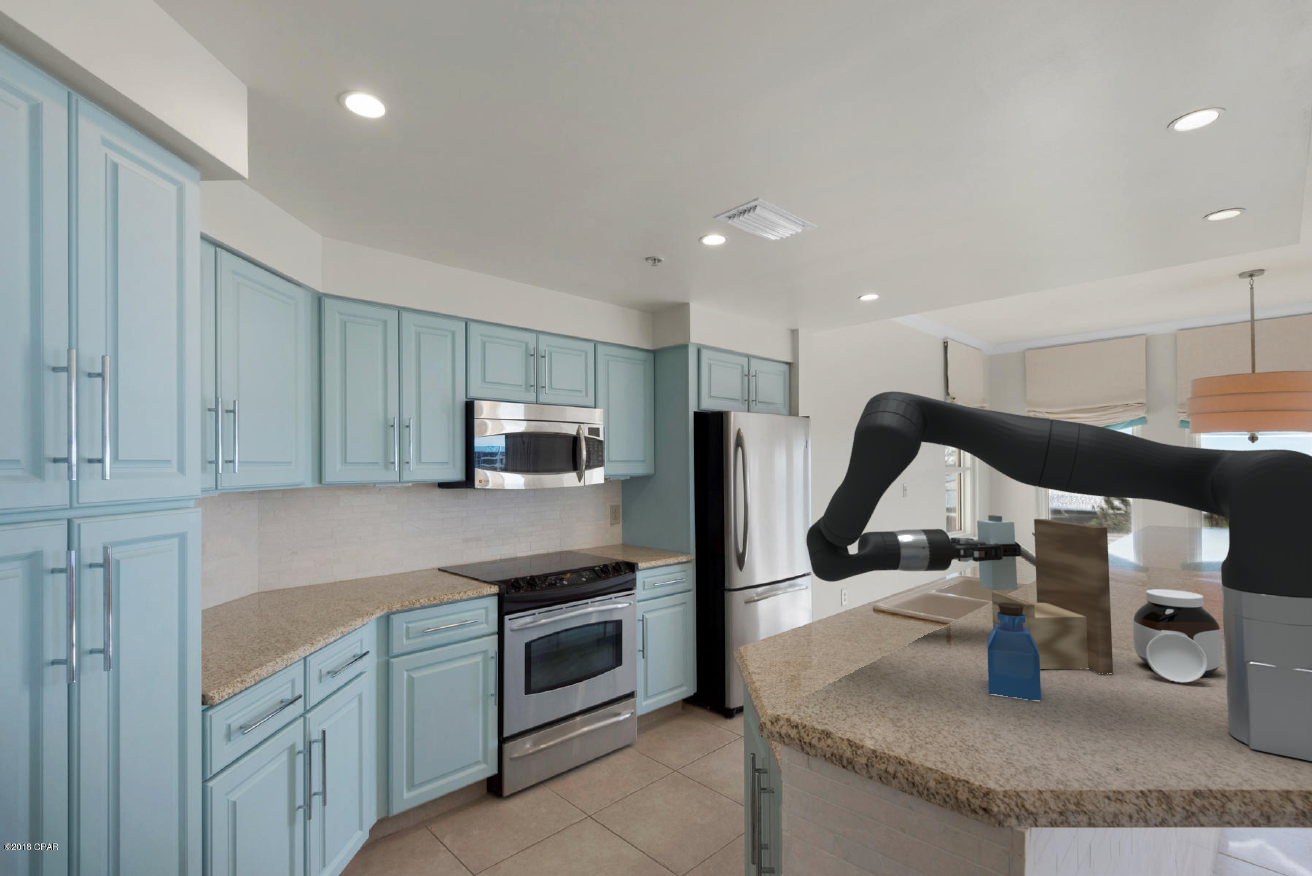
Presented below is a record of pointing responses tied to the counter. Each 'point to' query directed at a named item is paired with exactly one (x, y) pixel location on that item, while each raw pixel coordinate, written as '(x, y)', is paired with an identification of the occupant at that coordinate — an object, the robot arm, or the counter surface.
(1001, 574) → the pale blue tall block
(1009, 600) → the cleat board
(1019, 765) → the counter surface
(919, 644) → the counter surface
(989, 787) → the counter surface
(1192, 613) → the spread jar
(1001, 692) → the perfume bottle
